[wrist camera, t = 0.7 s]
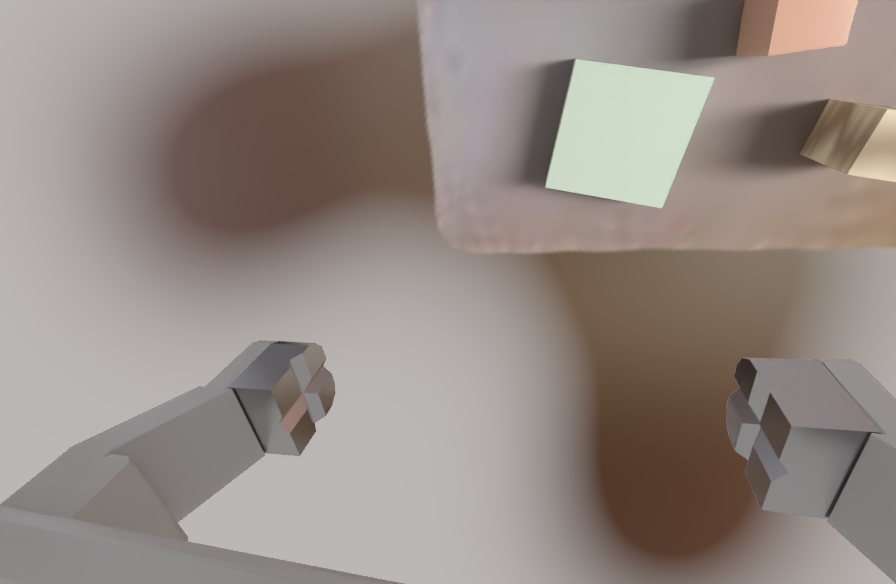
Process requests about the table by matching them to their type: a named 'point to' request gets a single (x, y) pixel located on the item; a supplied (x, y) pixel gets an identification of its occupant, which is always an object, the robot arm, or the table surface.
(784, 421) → the robot arm
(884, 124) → the beech block
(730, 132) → the table surface
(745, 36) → the terracotta block
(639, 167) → the sage pedestal block
